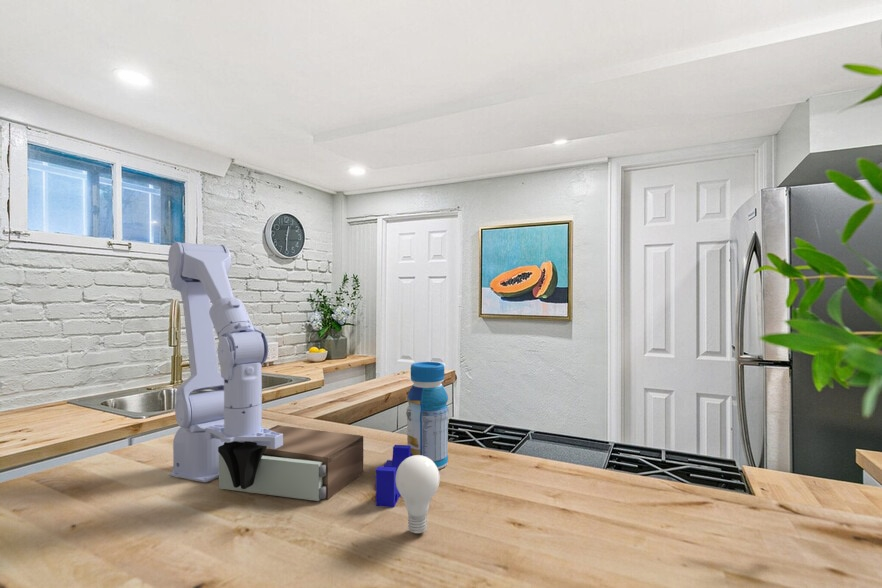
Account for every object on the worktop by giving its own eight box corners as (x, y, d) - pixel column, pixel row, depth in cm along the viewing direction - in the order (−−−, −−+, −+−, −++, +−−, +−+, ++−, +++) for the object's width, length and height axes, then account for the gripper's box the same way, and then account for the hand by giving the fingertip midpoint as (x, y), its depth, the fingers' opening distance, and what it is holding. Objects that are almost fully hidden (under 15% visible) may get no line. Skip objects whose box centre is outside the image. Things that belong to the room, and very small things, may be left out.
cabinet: (234, 482, 82) (233, 443, 82) (278, 459, 93) (277, 425, 93) (328, 499, 75) (327, 457, 75) (363, 472, 86) (363, 435, 86)
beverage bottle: (440, 475, 85) (440, 368, 84) (399, 469, 87) (399, 366, 87) (454, 458, 92) (453, 361, 92) (415, 454, 95) (415, 359, 95)
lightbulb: (423, 550, 60) (423, 468, 60) (386, 536, 64) (386, 459, 63) (448, 528, 66) (447, 453, 65) (412, 517, 69) (412, 445, 69)
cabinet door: (219, 488, 78) (218, 454, 78) (223, 485, 80) (223, 451, 79) (323, 501, 73) (323, 465, 73) (327, 498, 75) (327, 462, 74)
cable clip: (387, 475, 85) (387, 444, 85) (410, 477, 84) (410, 445, 84) (367, 506, 73) (366, 469, 73) (394, 508, 72) (393, 471, 72)
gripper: (189, 406, 73) (190, 489, 73) (260, 414, 68) (261, 503, 68) (224, 396, 80) (224, 472, 80) (291, 403, 75) (291, 484, 75)
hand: (243, 485), depth 75 cm, fingers closed
